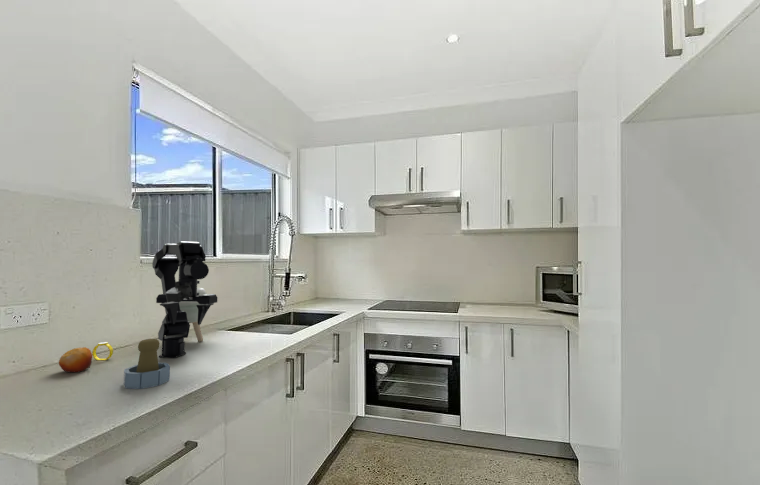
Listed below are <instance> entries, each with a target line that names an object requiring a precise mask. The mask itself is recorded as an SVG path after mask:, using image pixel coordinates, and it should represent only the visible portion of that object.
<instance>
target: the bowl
mask: <svg viewBox="0 0 760 485" xmlns="http://www.w3.org/2000/svg"><path fill="white" fill-rule="evenodd" d="M158 365H159V370H156V371H150V372H144V373H136V371H137V366H138V364H134V365H132V366H129V367H126V368H124V370H123V381H122V382H123V387H124V388H125V389H130V390H131V389H133V390H141V389H149V388H152V387H153V388H154V387H157V386H161V385H163V384H164V383H166V382H167V383H168V382H169V381H170V373H171V372H170V370H171V366H170V365H169V363H167V362H158Z"/></svg>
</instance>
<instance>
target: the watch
mask: <svg viewBox="0 0 760 485" xmlns="http://www.w3.org/2000/svg"><path fill="white" fill-rule="evenodd" d="M101 346H103V347H104V346H105V347H107V348H108V350H109V354H108V356H107V357H106V358H99V357H98V356H97V349H98V348H99V347H101ZM91 353H92V359H94V360H96V361H107V360H109V359H111V358H112V356H113V354H114V348H113V347H112V345H111V344H109V342H108V341H104V342H103V341H101V342H98V343H97V344H96V345H95V346H94V347H93V349H92V351H91Z"/></svg>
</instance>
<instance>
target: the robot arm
mask: <svg viewBox="0 0 760 485" xmlns="http://www.w3.org/2000/svg"><path fill="white" fill-rule="evenodd" d="M167 255H175V256H167ZM206 259H207V256H206V254H205V251H204V248H203V246H202V245H201V243H200V242H199V241H182V240H181V241H178V242H177V243H164V244H163V246H162V248H161V249H159V251H157V252H156V253H155V254H154V257H153V260H152V263H151V264H152V269H153V270H154V274H155V276H156V277H158V278H159V279H160V281H161V288H162V293H160V294H158V295H157V296H156V300H155V304H159V306H161V307H163V308H164V311H165V310H166V312H165V316H164V317H163V319H162V321H161V325H160V327H159V330H158V332H157V336H158V339H157V340H158V341H159V340H160V341H161V354H160V355H158V358H170V359H172V358H173V359H175V358H178V357H180V356H183V355H186V354H187V352H186V351H185V347H186V346H185V344H186V343H185V339H188V337H189V333H190V327H191V323H189V321H188V319H187V313H186V312H185V311H183V312H182V311H181V310H180V305H179V302H181V301H194V302H198V303H199V305H196V306H197V308H198V325H200V326H201V325H202V322H203V320H204V319H205V316H206V314H207V312H208V311H209V310H210V308H211V306H213V305H214V304H215V303H218V295H216V294H214V293H213V294H212V293H206V294H204V295H199V293H197V288H198V285H199V284H200V282H201V281H200V280H203V279H205V278H206V277H208V275H209V270H210V269H209V266H208V265H207V264H206V263H205V262H206ZM177 272H178V281H177V280H176V274H177ZM189 297H190V298H189Z"/></svg>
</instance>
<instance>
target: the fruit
mask: <svg viewBox="0 0 760 485" xmlns="http://www.w3.org/2000/svg"><path fill="white" fill-rule="evenodd" d="M92 360H93V355H92V351H91V349H90V348H87V347H86V346H85V347H84V346H83V347H76V348H72V349H70V350H67V351H66V352H65V353H63V354H62V355H61V357H60V358H59V360H58V365H59V367H60V368H61V369H62V370H63V371H64V372H66V373H81V372H84V371H86V370H88V369H91V365H92Z"/></svg>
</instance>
